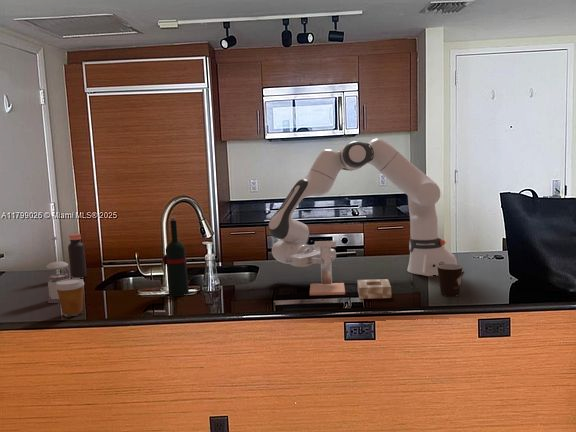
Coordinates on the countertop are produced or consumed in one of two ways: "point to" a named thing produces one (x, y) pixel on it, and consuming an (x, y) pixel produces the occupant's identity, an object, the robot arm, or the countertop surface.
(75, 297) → the glass of amber beer
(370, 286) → the socket block
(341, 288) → the tile
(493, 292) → the countertop surface
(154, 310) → the countertop surface
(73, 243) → the vinegar
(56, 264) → the french press
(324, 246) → the t key
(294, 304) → the countertop surface
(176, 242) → the wine bottle
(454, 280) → the coffee mug
